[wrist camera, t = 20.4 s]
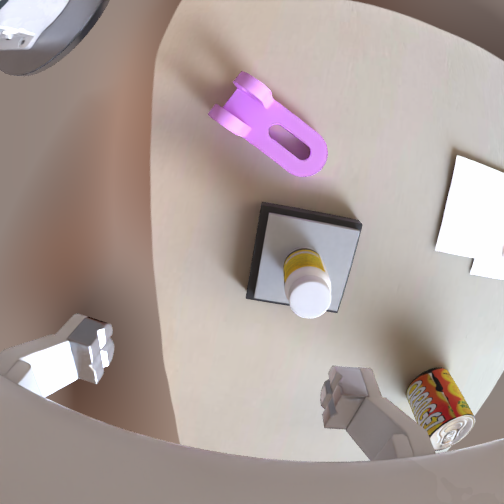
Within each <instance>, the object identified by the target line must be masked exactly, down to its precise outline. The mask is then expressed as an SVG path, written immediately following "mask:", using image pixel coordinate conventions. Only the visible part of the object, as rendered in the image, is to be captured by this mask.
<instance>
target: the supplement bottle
mask: <svg viewBox="0 0 504 504" xmlns="http://www.w3.org/2000/svg"><path fill="white" fill-rule="evenodd" d="M283 273H284V291H285V295H286V297H287V299H288V301H289V304H290V307H291V309H292V311H293V312H294V313H295V314H297V315H298V316H300V317H303V318H315V317H318V316H320V315H322V314H323V313H324V312H325V311H326V310H327V309H328V308H329V306H330V303H331V281H330V278H329V275H328V272H327V270H326V267H325V264H324V262H323V259H322V257H321V256H320V254H319V253H318V252H317V251H315V250H314V249H311V248H308V247H300V248H297V249H294V250H293V251H291V252H290V253H289V254H288V255H287V256H286V258H285V260H284V264H283Z"/></svg>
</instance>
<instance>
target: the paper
mask: <svg viewBox="0 0 504 504" xmlns="http://www.w3.org/2000/svg"><path fill="white" fill-rule="evenodd" d="M435 251H440V252H445V253H450V254H455V255H461V256H466V257H471V258H475V259H474V262H473V265H472V268H471V271H470V274H472V275H478V276H484V277H489V278H495V279H501V280H504V173H502V172H500V171H498V170H495V169H493V168H491V167H488V166H486V165H483V164H481V163H478V162H475V161H473V160H470V159H467V158H464V157H462V156H459V155H457V158H456V163H455V168H454V173H453V177H452V182H451V186H450V190H449V194H448V199H447V203H446V208H445V212H444V216H443V221H442V225H441V229H440V233H439V236H438V240H437V244H436V247H435Z"/></svg>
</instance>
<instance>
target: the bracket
mask: <svg viewBox="0 0 504 504" xmlns="http://www.w3.org/2000/svg"><path fill="white" fill-rule="evenodd" d="M233 83H234V84H235V86H236V87H237V90H236V91H235V92H234V94H233V95H232V96H231V97H230V99H229V100H228V101H227V102H226V104H225V105H224V106H223V108H222V107H221V106H219V105H218V104H215V105H214V106H213V108H212V109H211V110H210V112H209V113H208V115H209V116H210V117H211V118H212V119H214V120H215V121H217V122H218V123H219V124H221V125H222V126H224V127H225V128H227V129H228V130H230V131H231V132H233V133H234V134H236V135H239V136H242V137H243V138H245V139H246V140H247V141H249V142H250V143H251V144H253V145H254V146H255V147H257V148H258V149H259V150H261V151H262V152H263V153H265V154H266V155H267V156H269V157H270V158H271V159H272V160H274V161H275V162H276V163H278V164H279V165H280V166H282V167H283V168H284V169H285V170H287V171H288V172H289V173H291V174H293V175H296V176H300V177H307V176H311V175H314V174H316V173H317V172H319V171H320V170H321V169H322V168H323V166H324V165H325V163H326V160H327V156H328V150H327V145H326V143H325V141H324V139H323V138H322V137H321V136H320V135H319V134H318V133H317V132H316V131H315V130H313V129H312V128H311V127H310V126H308V125H307V124H306V123H305V122H303V121H302V120H301V119H299V118H298V117H297V116H296V115H294V114H293V113H292V112H290V111H289V110H288V109H286V108H285V107H284V106H282V105H281V104H280V103H278V102H277V101H275V100H274V99H273V98H272V93H271V91H270V90H269V89H268V88H267V87H266V86H265V85H264V84H262V83H261V82H260V81H258V80H257V79H256V78H254V77H253V76H251V75H249V74H248V73H246V72H243V71H241V73H240V74H239V75H238V76H237V77H236V79H235V80H234V81H233ZM275 124H278V125H281V126H282V127H283V128H285V129H286V130H287V131H289V132H290V133H291V134H292V135H294V136H295V137H296V138H298V139H299V140H300V141H301V142H303V143H304V144H305V145H306V146H308V148H309V149H310V155H309V157H308V158H307V159H305V160H300V159H298V158H297V157H295V156H294V155H293V154H291V153H290V152H289V151H288V150H286V149H285V148H284V147H283V146H281V145H280V144H279V143H277V142H276V141H275V140H273V139H272V138H271V137H270V136H269V133H268V131H269V128H270V127H271V126H272V125H275Z"/></svg>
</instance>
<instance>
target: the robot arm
mask: <svg viewBox="0 0 504 504" xmlns="http://www.w3.org/2000/svg"><path fill="white" fill-rule="evenodd" d="M68 1H69V0H0V50H28V49H30V48H31V47H32V46H33V45H34V43H35V42H36V40H37V39H38V37H39V36H40V34H41V33H42V32H43V31H44V30H45V29H46V28H47V27H48V26H49V25H50V24H51V23H52V22H53V21H54V20H55V19H56V18H57V17H58V16H59V14H60V13H61V12H62V11H63V9H64V8H65V6H66V5H67V3H68ZM112 333H113V331H112V325H111V324H109V323H106V322H103V321H99V320H97V319H93V318H90V317H87V316H84V315H81V314H74V315H73V316H72V317H71V318H70V319H69V320H68V322H67V323H66V324H65V325H64V326H63V327H62V328H61V329H60V330H59V331H58V332H57V333H56V334H55V335H52V334H51V335H48V336H45V337H42V338H38V339H35V340H32V341H29V342H26V343H23V344H20V345H17V346H14V347H11V348H7V349H4V350H3V351H2V352H1V353H0V504H504V439H498V440H494V441H490V442H487V443H483V444H479V445H476V446H471V447H467V448H463V449H457V450H453V451H447V452H442V453H435V450H434V448H433V445H432V443H431V440H430V438H429V435H428V433H427V431H426V430H425V429H424V428H422V427H421V426H420V425H419V424H417V423H416V422H415V421H414V420H413V419H411V418H410V417H409V416H408V415H406V414H405V413H404V412H403V411H401V410H400V409H399V408H398V407H397V406H395V405H394V404H393V403H392V402H391V401H389V400H388V399H387V398H384V397H382V395H381V392H380V390H379V387H378V384H377V381H376V379H375V376H374V373H373V371H372V369H371V368H362V367H358V368H356V367H343V366H332V367H331V368H330V371H329V373H328V375H329V379H328V380H327V381H325V382H324V384H323V387H322V390H321V399H320V401H321V406H322V407H323V408H324V409H325V410H324V412H323V414H322V415H323V421H324V428H332V429H346V431H347V432H348V434H349V435H350V436H351V437H352V439H353V440H354V441H355V442H356V444H357V445H358V446H359V447H360V448H361V450H362V451H363V452H364V453H365V454H366V456H367V457H368V458H369V459H370V461H356V462H311V461H290V460H277V459H266V458H257V457H248V456H241V455H234V454H227V453H221V452H215V451H210V450H204V449H199V448H194V447H190V446H185V445H181V444H176V443H172V442H168V441H164V440H160V439H156V438H153V437H149V436H145V435H142V434H138V433H135V432H132V431H128V430H126V429H123V428H119V427H116V426H113V425H110V424H107V423H105V422H102V421H99V420H97V419H94V418H91V417H89V416H86V415H84V414H81V413H79V412H76V411H74V410H71V409H69V408H67V407H64V406H61V405H60V404H57V403H55V402H53V401H51V400H49V399H46V398H45V397H46V396H48V395H50V394H52V393H54V392H55V391H57V390H59V389H61V388H62V387H64V386H66V385H68V384H70V383H71V382H73V381H75V380H77V379H78V378H80V379H83V380H86V381H89V382H92V383H95V384H97V383H98V382H99V380H100V379H101V377H102V375H103V374H104V369H103V368H104V367H106V366H108V365H109V364H110V362H111V361H112V358H113V354H114V342H113V341H112V339H111V338H110V336H111V335H112Z"/></svg>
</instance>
